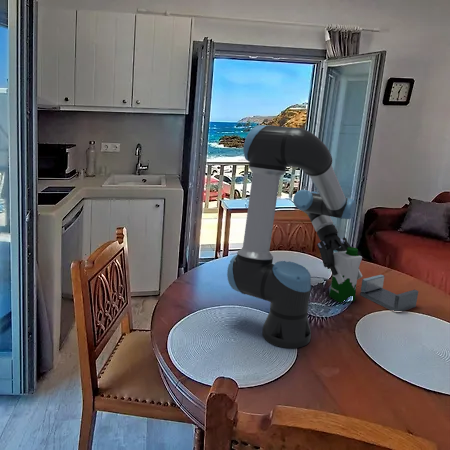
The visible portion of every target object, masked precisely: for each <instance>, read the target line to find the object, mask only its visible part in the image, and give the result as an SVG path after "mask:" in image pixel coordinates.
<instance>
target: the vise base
mask: <svg viewBox="0 0 450 450" xmlns="http://www.w3.org/2000/svg"><path fill="white" fill-rule="evenodd" d="M360 296H361V297H363V298H365V299H367V300H369V301H371V302H373V303H375V304H377V305H379V306H381V307H384V308H385V309H387V310H389V311H391V310H394V311H402V312H405V311H408V310H411V309H414V308H416V307H417V301H418V296H419V290H416V289H413V290H408V291H405V292H402V293H398V294H396V293H395V292H391V290H388V289H385V288H384V287H383V288H379V289H375V290H372V291H368V292H362V291H360Z"/></svg>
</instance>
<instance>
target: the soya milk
mask: <svg viewBox="0 0 450 450" xmlns="http://www.w3.org/2000/svg"><path fill="white" fill-rule="evenodd" d="M358 253H359V249H358V248H357V247H354V246H353V247H352V246H351V247H348V248H347V251H339V252H338V251H336V252H334V253H333V255H334V263H335V265H337V266H338V269H339V271H340V273H341V275H342V277H343V279H344V282H342V283H341V284H338V282H337V280H336V278H335V276H334V275H333V274H331V283H330V289H329V293H328V297H329V298H331V299H332V300H334V301H336V302H338V304H340V303H341V302H343V301H344V300H346V299H347V298H348V297H350V296H353V301H352V302H355V301H356V296H357V295H356V291H357V284H358V280H357V277H358V269H359V270H360V265H361V261H362V259H363V256H361V255H359V254H358ZM335 265H334V266H335ZM341 304H342V303H341Z"/></svg>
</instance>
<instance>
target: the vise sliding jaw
mask: <svg viewBox="0 0 450 450" xmlns="http://www.w3.org/2000/svg"><path fill="white" fill-rule="evenodd" d="M384 281H385V275H383V274H378V275H373V276H370V277H366V278H365V277H364V278H363V279H362V278H361V287H360V292H368V291H372V290H375V289H379V288H383V289H384Z"/></svg>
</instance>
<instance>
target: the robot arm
mask: <svg viewBox="0 0 450 450" xmlns="http://www.w3.org/2000/svg"><path fill="white" fill-rule="evenodd" d="M244 139H245V140H244V143H243V151H242V152H243V157H244V159H245V160H246V161H247V162H248V168H249V170H250V171H251V173H252V175H251V176H252V177H251V186H250V189H249V191H250V192H249V199H248V208H247V212H246V213H247V214H246V221H245V222H246V223H245V228H244V235H243V244H242V247H241V248H240V249H239V250H238V251H237V252H236V254H235V255H234V256H233V257H231V259H230V260H229V261H230V262H229V263H228V267H227V273H226V277H227V281H228V284H229V286H230V287H231V289H232V290H234V291H236V292H237V293H238V292H239V293H241V294H242V295H247V296H251V297H253V298H257V299H260V300H263V301H267V302H269V303H270V304H269V305H270V307H269V313H268V314H267V317H266V320H264V323H263V327H262V337H263V339H264V340H265V341H267V342H268V343H270V344H272V345H274V346H276V347H280V348H283V349H298V348H302V347H305V346H307V345H308V344H309V343H310V342H311V336H312V331H311V327H310V323H309V322H310V321H309V318H308V312H309V311H308V310H309V303H310V295H311V288H312V284H311V280H312V276H311V273H310V271H309V270H308V269H307V268H306V267H305V266H304V265H301V264H299V263H297V262H293V261H286V260H280V261H277V262H275V263H274V264H273V260H274V256H273V254H272V253H271V252H270V250H271V249H270V248H271V241H272V234H273V228H274V221H275V214H276V208H277V207H276V206H277V200H278V193H279V187H280V186H279V185H280V181H281V180H280V179H281V176H284V174H286V172H287V171H286V170H287V167H289V168H290V167H292V168H298V169H300V170H302V171H303V173H305V175H307V176H309V177H310V179H311V181H312V183H313V185H314V187H315V189H316V190H317V191H310V190H307V189H300V190H297V191H296V192H295V193H294V195H293V199H292V201H293V204H294V206H295V207H296V208H297V210H299V211H302V212H304V214H306V215H307V216H308V218H309V220H310V222H311V224H312V226H313V229H314V231H315V232H316V235H317V236H318V239H319V242H318V243H317V244H316V246H317V248H318V250H319V253H320V258H321V260H322V261H321V262H322V264H323V268H327V270H330V271H331V275H334V276H335V278H336V280H337V282H338V284H341V283H342V282H344V279H343V277H342V275H341V273H340V271H339V269H338V266H337V265H335V263H334V255H333V253H335V252H334V251H336V252H339V251H347V248H348V247H352V246H351V245H350V243H349V242H348V240H347V238H346V237H343V238H340V237H339V234H338V233H339V231H338V229H337V228H336V226H335V224H334V222H333V220H332V218H337V219H340V220H341V219H343V220H351V219H352V218H353V217H354V216H355V213H356V209H357V208H356V207H357V205H356V204H357V203H356V200H355V199H352V198H350V197H346V196H345V193H344V191H343V189H342V186H341V183H340V182H339V180H338V177H337V174H336V172H335V170H334V168H333V157H332V154H331V152H330V149H329V148H328V147H327V145H326V144H325V143H324V142H323V141H322V140H321V139H320V138H319V137H318V136H317V135H315V134H314V133H312V131H309V130H308V129H304V128H301V127H289V126H282V125H281V126H279V125H272V124H270V125H269V124H267V125H266V124H265V125H263V124H262V125H256V126H254V127H253V128H251V130H250V131H248V133H247V135H246V137H245V138H244ZM334 265H335V266H334ZM362 277H363V274H362V272H361V271H360V268H359V269H358V277H357V281H358V280H360V279H362Z"/></svg>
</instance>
